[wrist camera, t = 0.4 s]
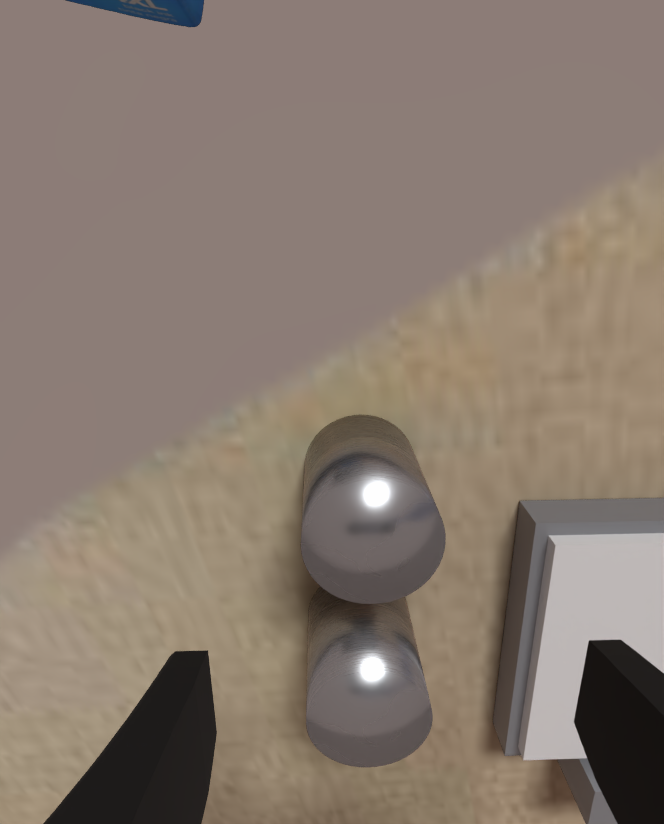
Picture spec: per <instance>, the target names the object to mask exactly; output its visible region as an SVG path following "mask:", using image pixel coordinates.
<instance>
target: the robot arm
mask: <svg viewBox="0 0 664 824" xmlns="http://www.w3.org/2000/svg"><path fill="white" fill-rule="evenodd" d="M574 724H575V727H576V729H577V732H578V735H579V738H580V740H581V743H582V746H583V749H584V751H585V754H586V757H587V759H588V762H589V764H590V767H591V769H592V772H593V774H594V777H595V779H596V782H597V784H598V786H599V788H600V790H601V792H602V794H603V796H604V798H605V800H606V802H607V804H608V806H609V808H610V810H611V812H612V814H613V816H614V818H615V820H616V822H617V824H664V673H663V672H661V671H660V670H659V669H658V668H656V667H655V666H654V665H653V664H651V663H650V662H649V661H648V660H646V659H645V658H644V657H643V656H641V655H640V654H639V653H638V652H636V651H635V650H634V649H632V648H631V647H630V646H629V645H627V644H626V643H625V642H623V641H622V640H589V642H588V647H587V653H586V658H585V664H584V669H583V674H582V680H581V685H580V691H579V696H578V702H577V707H576V712H575V718H574ZM216 734H217V731H216V722H215V712H214V703H213V694H212V684H211V675H210V666H209V656H208V651H176V652H174V653H173V654H172V655H171V656H170V657H169V659H168V660H167V662H166V663H165V665H164V666H163V668H162V669H161V671H160V672H159V674H158V675H157V677H156V678H155V680H154V681H153V683H152V684H151V686H150V687H149V689H148V690H147V691H146V693H145V694H144V696H143V697H142V699H141V700H140V701H139V703H138V704H137V706H136V707H135V708H134V710H133V711H132V713H131V714H130V715H129V717H128V718H127V720H126V721H125V722H124V724H123V725H122V726H121V728H120V729H119V730H118V732H117V733H116V734H115V736H114V737H113V738H112V740H111V741H110V742H109V744H108V745H107V746H106V748H105V749H104V750H103V752H102V753H101V754H100V756H99V757H98V758H97V759H96V761H95V762H94V763H93V764H92V766H91V767H90V768H89V769H88V771H87V772H86V773H85V774H84V776H83V777H82V778H81V779H80V780H79V782H78V783H77V784H76V785H75V786H74V788H73V789H72V790H71V791H70V793H69V794H68V795H67V796H66V797H65V799H64V800H63V801H62V802H61V804H60V805H59V806H58V807H57V808H56V810H55V811H54V812H53V813H52V814H51V815H50V817H49V818H48V819H47V820H46V821H45V822H44V824H201V822H202V818H203V814H204V810H205V805H206V801H207V797H208V791H209V785H210V778H211V771H212V764H213V757H214V749H215V742H216Z"/></svg>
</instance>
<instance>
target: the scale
mask: <svg viewBox="0 0 664 824" xmlns="http://www.w3.org/2000/svg"><path fill="white" fill-rule="evenodd" d="M589 640H622V641H623V642H625V643H626V644H627V645H629V646H630V647H631V648H632V649H634V650H635V651H636V652H638V653H639V654H640V655H641V656H643V657H644V658H645V659H646V660H648V661H649V662H650V663H651V664H653V665H654V666H655V667H656V668H658V669H659V670H660V671H661V672H663V673H664V498H634V499H584V500H534V501H520V502H519V511H518V519H517V527H516V535H515V544H514V552H513V560H512V568H511V577H510V585H509V593H508V601H507V609H506V618H505V626H504V634H503V642H502V651H501V659H500V667H499V675H498V684H497V692H496V700H495V708H494V717H493V724H494V727H495V730H496V733H497V735H498V738H499V741H500V744H501V747H502V750H503V752H504V755H505V756H514V755H521V756H522V758H523V760H547V759H557V760H558V763H559V765H560V767H561V769H562V772H563V774H564V776H565V778H566V781H567V783H568V785H569V787H570V790H571V792H572V794H573V796H574V799H575V801H576V803H577V805H578V808H579V810H580V812H581V814H582V816H583V819H584V821H585V823H586V824H617V822H616V820H615V818H614V816H613V814H612V812H611V810H610V808H609V806H608V804H607V802H606V800H605V798H604V796H603V794H602V792H601V790H600V788H599V786H598V784H597V782H596V779H595V777H594V774H593V772H592V769H591V767H590V764H589V762H588V759H587V757H586V754H585V751H584V749H583V746H582V743H581V740H580V738H579V735H578V732H577V729H576V727H575V724H574V718H575V712H576V707H577V702H578V696H579V691H580V685H581V680H582V674H583V669H584V664H585V658H586V653H587V647H588V642H589Z"/></svg>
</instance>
